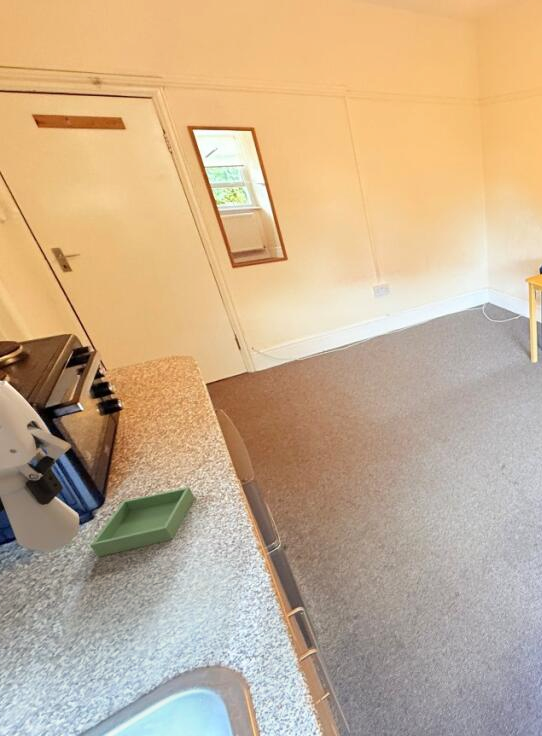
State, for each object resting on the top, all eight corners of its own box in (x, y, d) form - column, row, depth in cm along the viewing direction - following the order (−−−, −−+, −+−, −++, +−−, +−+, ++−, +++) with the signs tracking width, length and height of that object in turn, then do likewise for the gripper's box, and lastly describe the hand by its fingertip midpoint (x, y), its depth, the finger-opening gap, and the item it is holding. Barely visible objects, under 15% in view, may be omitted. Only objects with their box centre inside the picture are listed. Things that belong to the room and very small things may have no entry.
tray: (97, 557, 73) (89, 545, 72) (129, 511, 83) (123, 500, 81) (172, 539, 76) (166, 528, 75) (194, 497, 86) (189, 486, 84)
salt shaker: (45, 530, 58) (-6, 460, 52) (95, 518, 59) (50, 450, 54) (16, 564, 53) (-45, 492, 47) (71, 551, 54) (19, 479, 49)
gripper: (-205, 414, 39) (-83, 541, 47) (10, 387, 44) (89, 507, 52) (-123, 379, 46) (-28, 495, 54) (57, 358, 50) (121, 469, 58)
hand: (28, 500), depth 53 cm, fingers closed on salt shaker, 4 cm apart
